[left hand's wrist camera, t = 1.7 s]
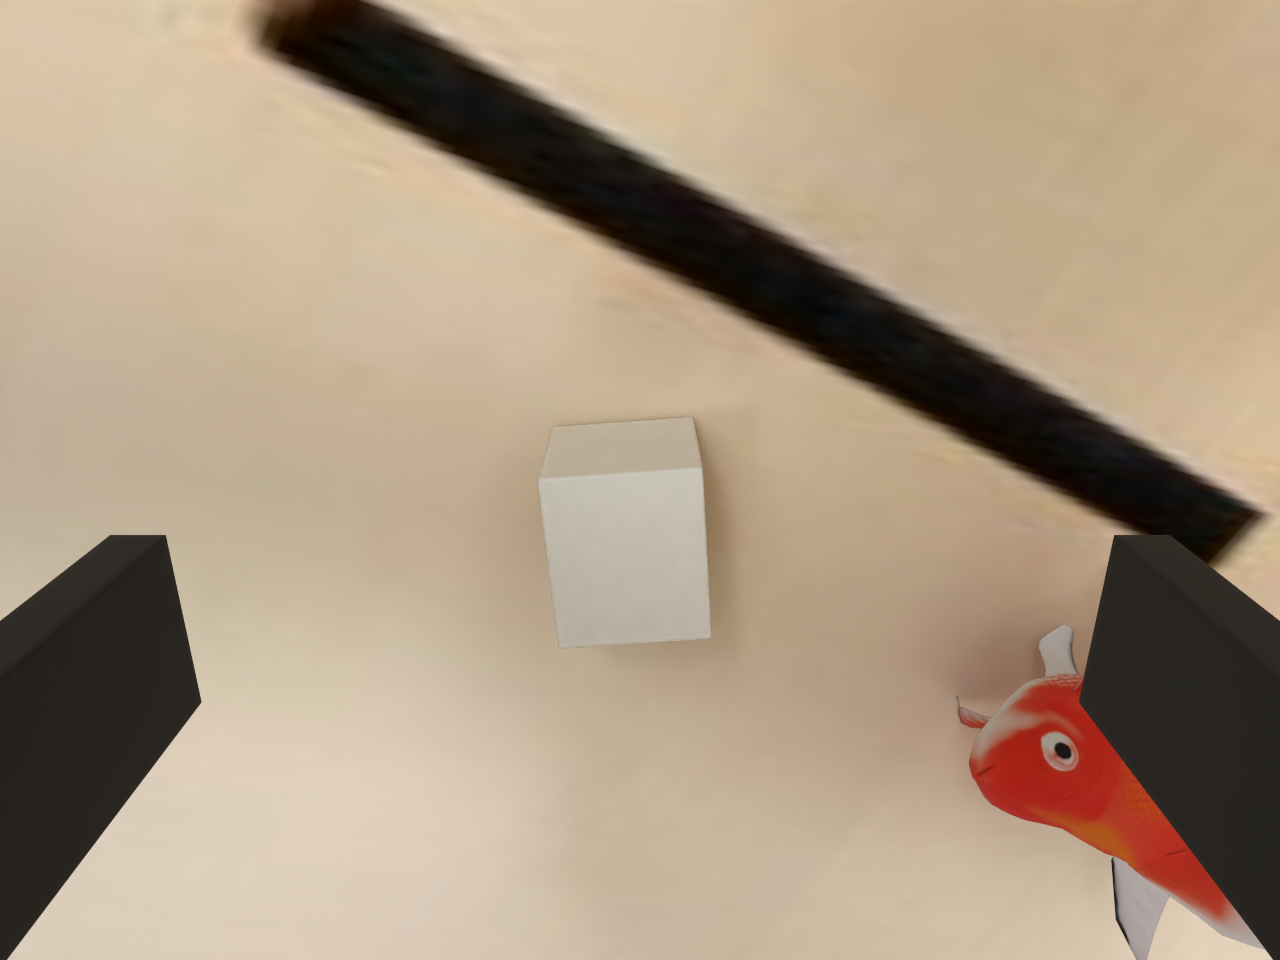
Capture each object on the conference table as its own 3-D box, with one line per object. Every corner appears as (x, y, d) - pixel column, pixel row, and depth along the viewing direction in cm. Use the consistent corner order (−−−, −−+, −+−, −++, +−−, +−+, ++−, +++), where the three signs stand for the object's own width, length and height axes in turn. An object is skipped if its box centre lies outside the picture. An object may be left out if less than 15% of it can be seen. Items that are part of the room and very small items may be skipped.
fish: (1193, 453, 22) (1482, 888, 16) (1377, 596, 31) (1606, 908, 25) (854, 646, 28) (973, 1015, 22) (1091, 719, 37) (1221, 994, 31)
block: (701, 567, 28) (712, 639, 24) (569, 576, 29) (558, 649, 25) (693, 415, 27) (702, 467, 23) (551, 425, 27) (536, 479, 23)
